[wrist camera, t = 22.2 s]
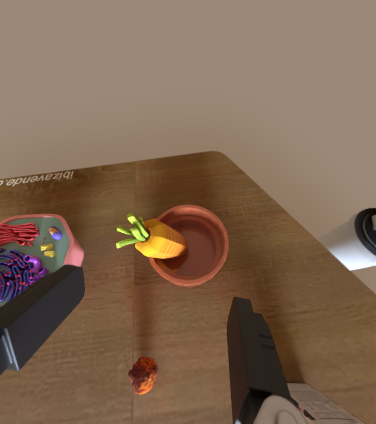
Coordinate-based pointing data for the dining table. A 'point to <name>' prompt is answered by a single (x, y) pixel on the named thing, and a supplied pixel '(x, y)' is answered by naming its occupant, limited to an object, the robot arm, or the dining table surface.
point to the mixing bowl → (194, 246)
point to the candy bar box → (319, 406)
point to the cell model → (34, 251)
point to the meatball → (143, 374)
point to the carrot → (154, 238)
